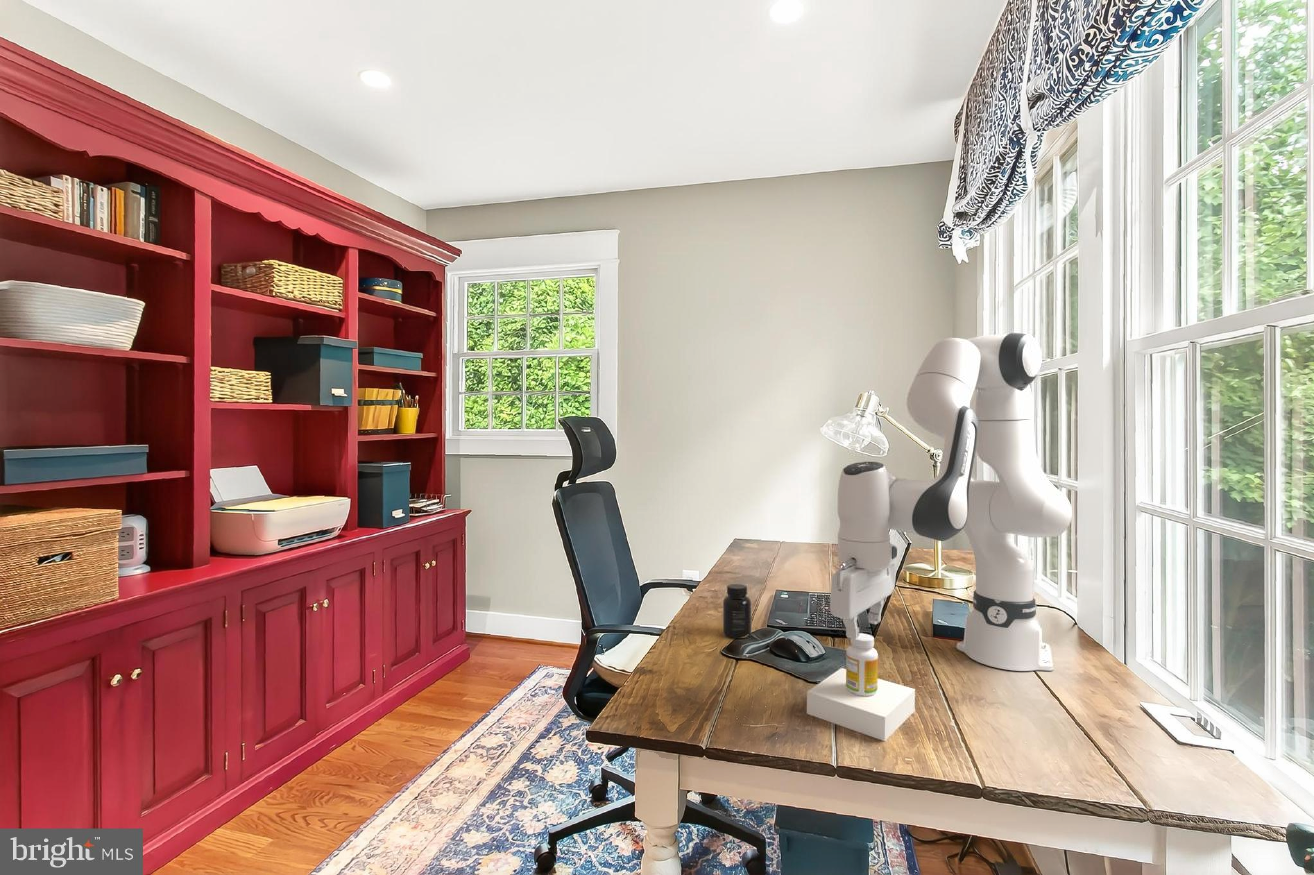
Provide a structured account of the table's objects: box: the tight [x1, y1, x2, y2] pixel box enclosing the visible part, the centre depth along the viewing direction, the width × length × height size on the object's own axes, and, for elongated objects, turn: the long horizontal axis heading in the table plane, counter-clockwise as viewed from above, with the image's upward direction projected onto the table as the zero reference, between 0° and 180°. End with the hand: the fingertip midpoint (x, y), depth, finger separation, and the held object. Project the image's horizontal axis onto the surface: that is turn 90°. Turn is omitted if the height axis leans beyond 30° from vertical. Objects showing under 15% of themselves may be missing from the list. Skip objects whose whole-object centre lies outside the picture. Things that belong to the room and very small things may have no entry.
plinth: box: [806, 667, 916, 742], centre depth 109 cm, size 14×14×4 cm
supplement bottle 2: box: [845, 632, 879, 696], centre depth 109 cm, size 5×5×10 cm
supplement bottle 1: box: [722, 583, 752, 640], centre depth 149 cm, size 7×7×12 cm
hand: (863, 629), depth 109 cm, fingers open, 8 cm apart
